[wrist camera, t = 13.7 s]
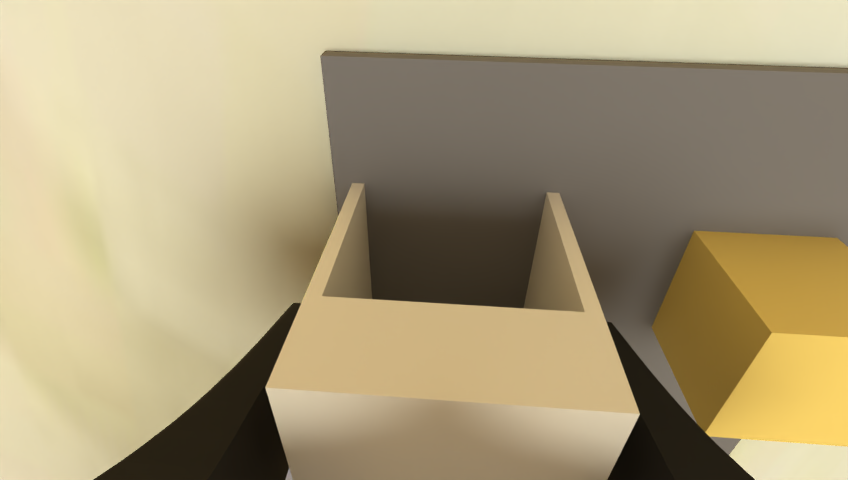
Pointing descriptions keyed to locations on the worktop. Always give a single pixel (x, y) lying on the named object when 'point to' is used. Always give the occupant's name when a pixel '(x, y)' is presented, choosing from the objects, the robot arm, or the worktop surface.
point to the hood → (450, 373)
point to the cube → (761, 336)
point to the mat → (579, 170)
